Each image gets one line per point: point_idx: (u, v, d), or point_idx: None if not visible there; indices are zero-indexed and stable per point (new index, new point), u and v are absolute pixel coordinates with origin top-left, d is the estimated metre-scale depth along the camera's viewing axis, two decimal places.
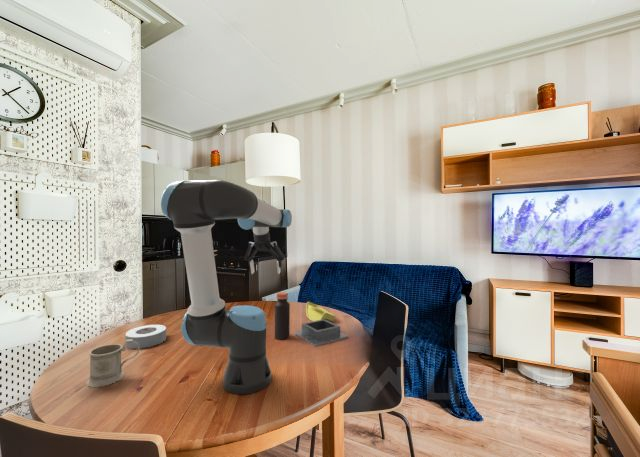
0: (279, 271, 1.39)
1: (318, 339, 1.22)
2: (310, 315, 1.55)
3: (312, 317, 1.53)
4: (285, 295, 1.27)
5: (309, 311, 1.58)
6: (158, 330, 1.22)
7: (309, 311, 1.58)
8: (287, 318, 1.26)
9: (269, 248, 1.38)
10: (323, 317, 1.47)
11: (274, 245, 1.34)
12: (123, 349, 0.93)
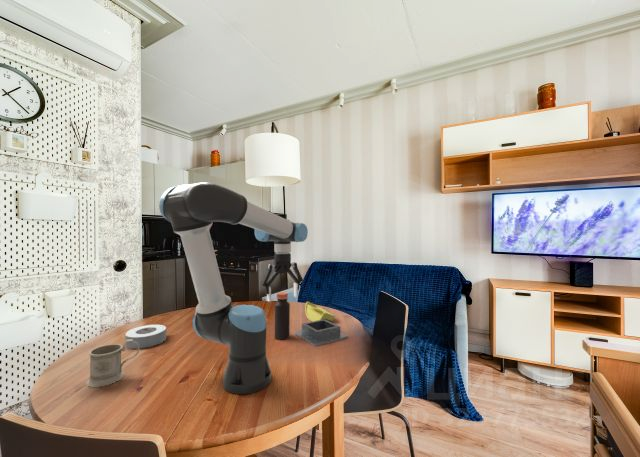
0: None
1: (318, 339, 1.22)
2: (309, 315, 1.55)
3: (311, 317, 1.53)
4: (285, 295, 1.27)
5: (308, 311, 1.58)
6: (158, 330, 1.22)
7: (309, 311, 1.58)
8: (287, 318, 1.26)
9: None
10: (323, 317, 1.47)
11: (295, 265, 1.31)
12: (123, 349, 0.93)
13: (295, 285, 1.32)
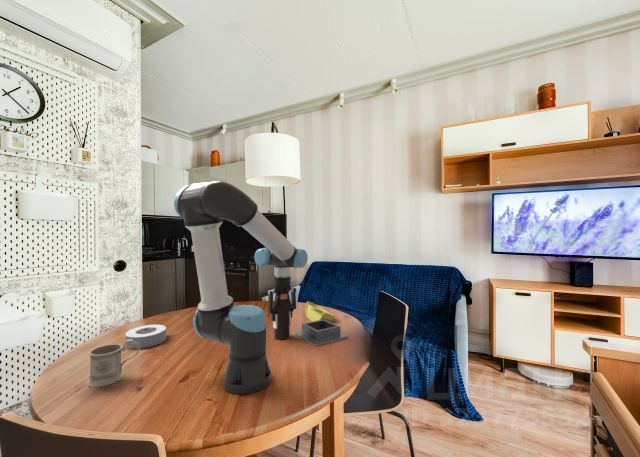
0: (290, 323, 1.30)
1: (318, 339, 1.22)
2: (309, 315, 1.55)
3: (311, 317, 1.53)
4: (285, 295, 1.27)
5: (308, 311, 1.58)
6: (158, 330, 1.22)
7: (309, 311, 1.58)
8: (287, 318, 1.26)
9: None
10: (322, 317, 1.47)
11: (294, 291, 1.31)
12: (123, 349, 0.93)
13: None
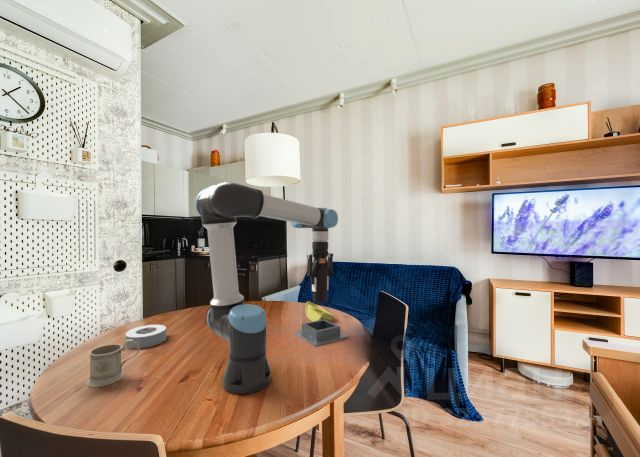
0: (327, 287, 1.32)
1: (318, 339, 1.22)
2: (309, 315, 1.56)
3: (311, 317, 1.54)
4: (323, 259, 1.29)
5: (308, 311, 1.59)
6: (158, 330, 1.22)
7: (309, 310, 1.59)
8: (325, 282, 1.29)
9: None
10: (322, 317, 1.47)
11: (331, 256, 1.33)
12: (123, 349, 0.93)
13: None
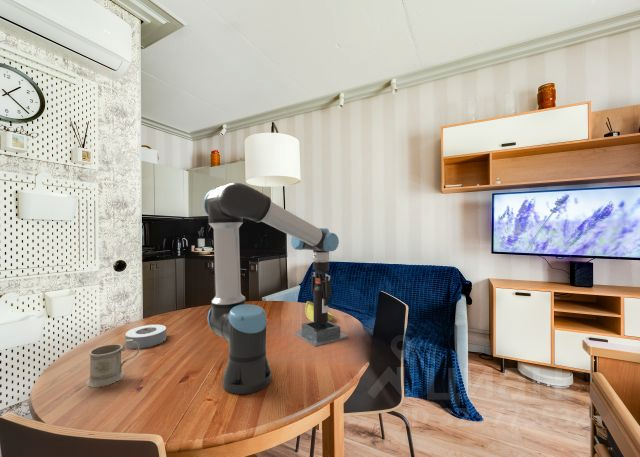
0: None
1: (318, 339, 1.22)
2: (309, 314, 1.56)
3: (311, 316, 1.54)
4: None
5: (308, 310, 1.59)
6: (158, 330, 1.22)
7: (309, 310, 1.59)
8: None
9: None
10: None
11: None
12: (123, 349, 0.93)
13: None
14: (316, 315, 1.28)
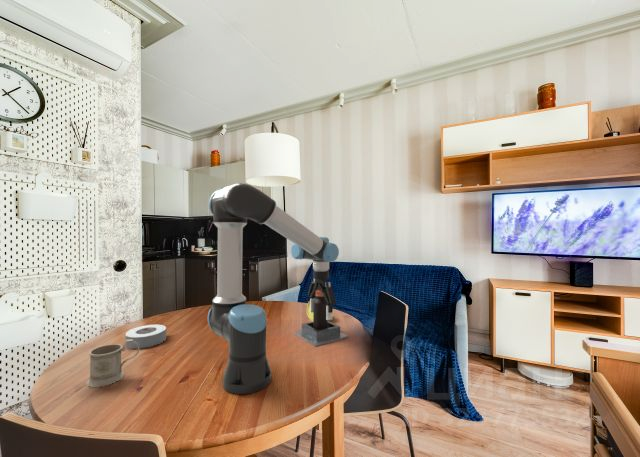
0: None
1: (318, 339, 1.22)
2: (310, 314, 1.57)
3: (311, 316, 1.55)
4: None
5: (309, 310, 1.60)
6: (158, 330, 1.22)
7: None
8: None
9: (315, 287, 1.32)
10: None
11: None
12: (123, 349, 0.93)
13: None
14: (316, 328, 1.28)
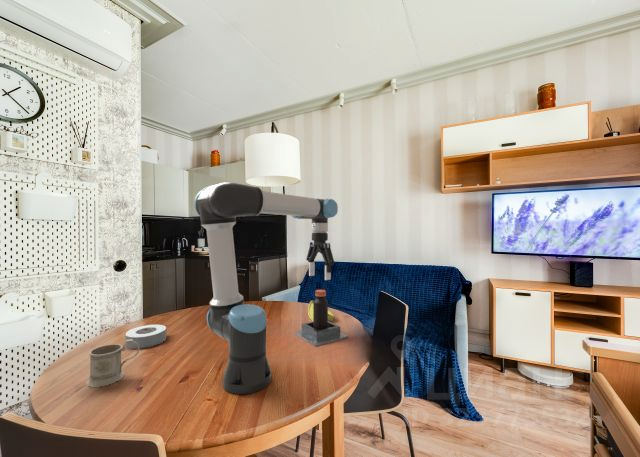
0: None
1: (318, 339, 1.22)
2: (311, 314, 1.58)
3: (312, 316, 1.55)
4: None
5: (311, 310, 1.61)
6: (158, 330, 1.22)
7: (311, 310, 1.60)
8: None
9: None
10: None
11: None
12: (123, 349, 0.93)
13: (313, 264, 1.37)
14: (316, 328, 1.28)
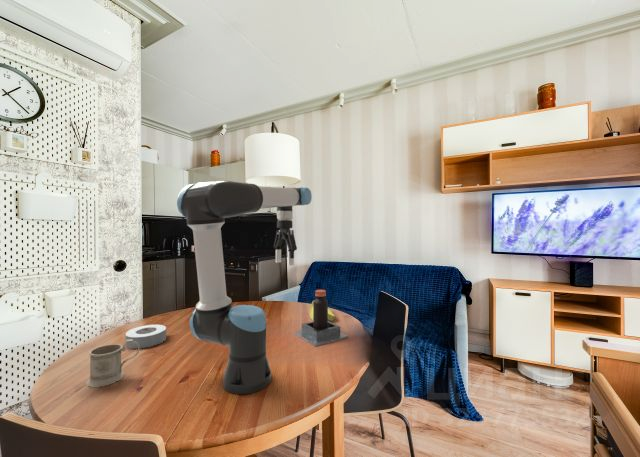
0: None
1: (318, 339, 1.22)
2: (312, 313, 1.59)
3: None
4: None
5: (312, 309, 1.61)
6: (158, 330, 1.22)
7: None
8: None
9: (279, 237, 1.37)
10: None
11: None
12: (123, 349, 0.93)
13: (279, 251, 1.41)
14: (316, 328, 1.28)
